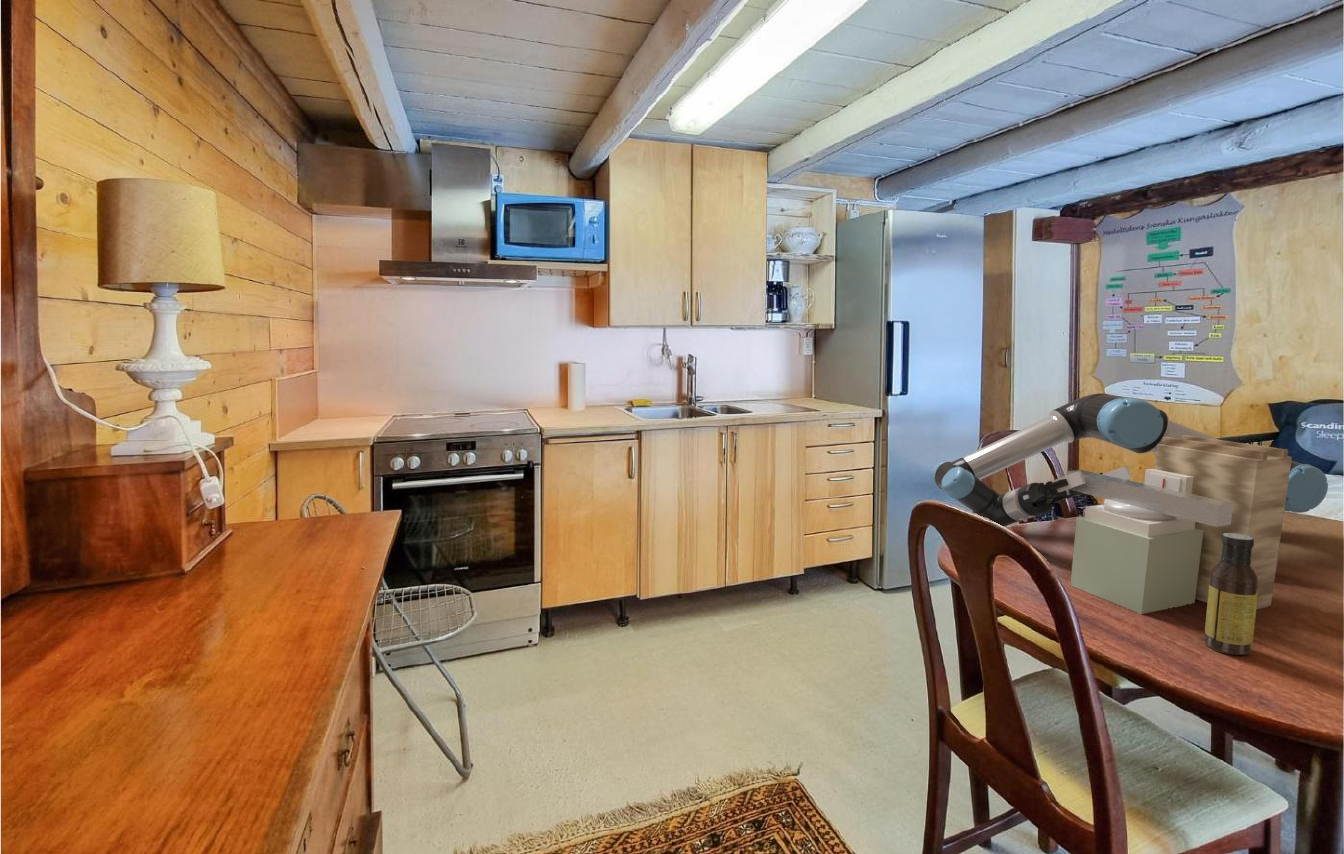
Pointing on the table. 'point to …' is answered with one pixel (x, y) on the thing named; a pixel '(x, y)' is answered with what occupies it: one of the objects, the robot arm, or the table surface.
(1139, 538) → the block
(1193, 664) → the table surface
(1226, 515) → the bar
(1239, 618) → the sauce bottle
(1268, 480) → the birch stand
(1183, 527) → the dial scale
